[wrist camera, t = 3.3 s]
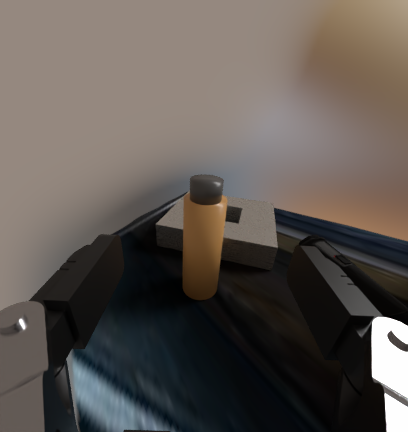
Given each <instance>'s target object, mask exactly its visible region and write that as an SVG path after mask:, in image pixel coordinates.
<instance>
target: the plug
mask: <svg viewBox="0 0 408 432" xmlns="http://www.w3.org/2000/svg"><path fill="white" fill-rule="evenodd" d="M223 181H224V180H223V179H222V178H220V177H217V176H213V175H195V176H192V177H191V178H190V193H188V194H186V195H185V196H184V208H183V291H184V292H185V294H186V295H187V296H188V297H190V298H192V299H195V300H206V299H209V298H211V297H212V296H213V295H214V294H215V293H216V291H217V285H218V276H219V268H220V260H221V251H222V243H223V235H224V226H225V218H226V210H227V201H228V200H227V198H226V197H225V196H223V195H222V191H223Z"/></svg>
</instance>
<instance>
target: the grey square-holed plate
mask: <svg viewBox="0 0 408 432" xmlns="http://www.w3.org/2000/svg"><path fill="white" fill-rule="evenodd" d="M188 193H190V191H189V192H188ZM188 193H187V194H188ZM225 197H226V198H227V200H228V201H227V210H226V218H225V226H224V235H223V243H222V251H221V260H226V261H231V262H235V263H240V264H244V265H249V266H254V267H258V268H263V269H267V270H272V266H273V263H274V259H275V255H276V252H277V248H278V247H277V236H276V226H275V216H274V206H273V203H267V202H261V201H254V200H247V199H241V198H234V197H228V196H225ZM183 208H184V197H183V198H182V199H181V200H180V201H179V202H178V203H177V204H176V205H175V206H174V207H173V208H172V209H171V210H170V211H169V212H168V213H167V214H166V215H164V216H163V217H162V218H161V219H160V220H159V221H158V222H157V223H156V237H157V246H161V247H166V248H171V249H175V250H180V251H183Z"/></svg>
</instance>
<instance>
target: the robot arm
mask: <svg viewBox="0 0 408 432" xmlns="http://www.w3.org/2000/svg"><path fill="white" fill-rule="evenodd" d="M123 270H124V259H123V252H122V245H121V239H120V236H118V235H104V234H101V235H99V236H98V237H97V238H96V239H95V241H94V242H93V243H92V244H91V245H86V246H84V247H82V248H81V249H79V250H77V251H76V252H74V253H73V254H72V256H71V257H70V258H69V259H68V260H67V262H66V263H64V264H63V265H62V266H61V267H60V269H59V270H57V271H56V273H55V274H54V275H53V276H52V277H51V278H50V279H49V280H48V281H47V282H46V283H45V284H44V285H43V286H42V287H41V288H40V290H39V291H38V292H37V293H36V294H35V295H34V296H33V297H32V298H31V299H30V300H29V301H26V302H21V303H17V304H14V305H11V306H9V307H7V308H5V309H3V310H1V311H0V432H78V429H77V425H76V420H75V414H74V407H73V400H72V393H71V387H70V380H69V373H68V366H67V361H66V358H67V356H68V355H69V353H70V351H71V349H85V347H86V345H87V343H88V341H89V339H90V337H91V335H92V334H93V332H94V330H95V328H96V326H97V324H98V322H99V320H100V318H101V316H102V314H103V312H104V310H105V308H106V306H107V304H108V302H109V300H110V298H111V296H112V294H113V292H114V290H115V288H116V287H117V285H118V283H119V281H120V279H121V277H122V274H123ZM287 282H288V285H289V288H290V290H291V292H292V294H293V296H294V298H295V300H296V302H297V304H298V306H299V308H300V310H301V312H302V314H303V316H304V318H305V320H306V322H307V324H308V326H309V328H310V330H311V332H312V334H313V336H314V338H315V340H316V342H317V344H318V346H319V348H320V350H321V353H322V355H323V357H324V359H325V360H339V362H340V363H341V365H342V368H341V369H340V371H339V377H338V385H337V392H336V400H335V407H334V415H333V423H332V428H331V432H408V326H406V325H405V324H403V323H401V322H399V321H396V320H394V319H390V318H386V317H383V316H382V314H381V313H380V312H379V311H378V310H377V309H376V308H375V307H374V305H373V304H372V303H371V302H370V301H369V300H368V299H367V298H366V296H365V295H364V294H363V293H362V292H361V291H360V290H359V289H358V287H357V286H354V283H353V282H352V281H351V279H350V278H347V275H346V274H345V273H344V272H343V270H342V269H341V268H340V267H339V266H338V265H336V264H335V263H333V262H332V261H331V260H329V259H328V258H325V257H324V255H323V254H322V253H321V252H320V251H319V250H318V248H316V247H314V246H296V247H295V249H294V252H293V255H292V258H291V261H290V264H289V268H288V271H287ZM124 432H170V431H149V430H124Z"/></svg>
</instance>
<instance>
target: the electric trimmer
mask: <svg viewBox="0 0 408 432" xmlns="http://www.w3.org/2000/svg"><path fill="white" fill-rule="evenodd" d="M299 245H300V246H314V247H316V248H318V250H319V251H320V252H321V253H322V254H323V255H324V257H325V258H328V259H329V260H331V261H332V262H333V263H335V264H336V265H338V266H339V267H340V268H341V269H342V270H343V272H344V273H345V274H346V275H347V278H350V279H351V281H352V282H353V283H354V286H357V287H358V289H359V290H360V291H361V292H362V293H363V294H364V295H365V296H366V298H367V299H368V300H369V301H370V302H371V303H372V304H373V305H374V307H375V308H376V309H377V310H378V311H379V312H380V313H381V314H382V316H385V317H387V316H392V315H397V314H402V313H405V312H407V311H408V308H407V307H406V306H405V305H404V304H402V303H401V302H400V301H399V300H397V299H396V298H395V297H394V296H392V295H391V294H390V293H389V292H387V291H386V290H385V289H384V288H383V287H381V286H380V285H379V284H378V283H376V282H375V281H374V280H373V279H371V278H370V277H369V276H368V275H366V274H365V273H364V272H363V271H362V270H360V269H359V268H358V267H357V266H356V265H355V264H353V263H352V262H351V261H350V260H348V259H347V258H346V257H345V256H343V255H342V254H341V253H340V252H339V251H337V250H336V249H335V248H334V247H332V246H331V245H330V244H329V243H327V242H326V240H325V239H324V238H323V237H319V236H318V235H312V236H308V237H306V238H305V239H303V240H302V241H301V242H300V243H299Z"/></svg>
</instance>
